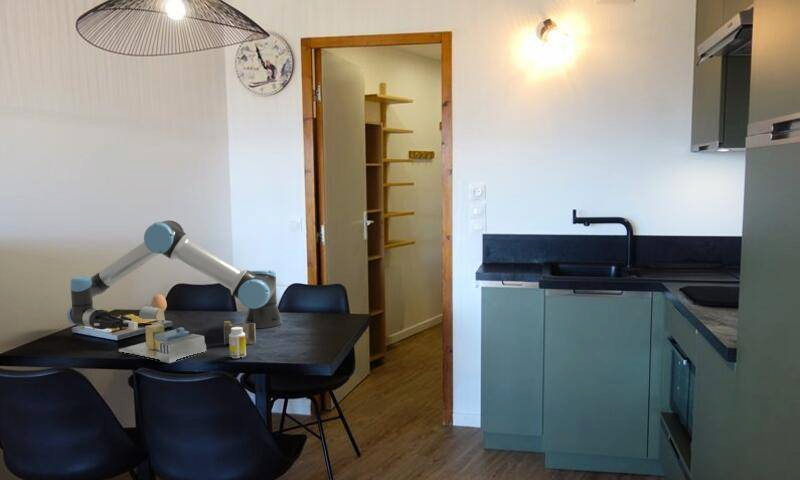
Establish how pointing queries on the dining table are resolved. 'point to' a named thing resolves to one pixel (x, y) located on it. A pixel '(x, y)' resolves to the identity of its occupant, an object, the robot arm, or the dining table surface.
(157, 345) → the beige wooden block
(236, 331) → the supplement bottle
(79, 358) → the dining table surface
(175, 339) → the grey building model
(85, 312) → the robot arm
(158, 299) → the egg
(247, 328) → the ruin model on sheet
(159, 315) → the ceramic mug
